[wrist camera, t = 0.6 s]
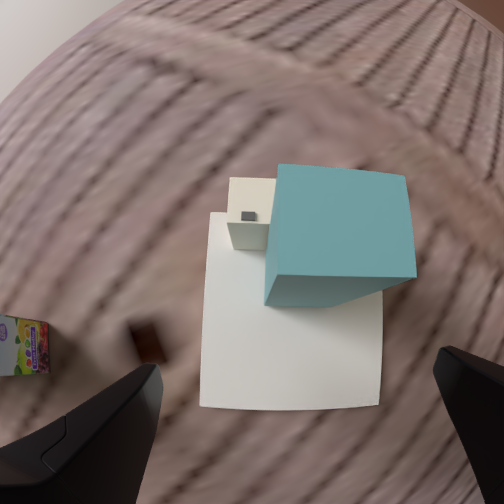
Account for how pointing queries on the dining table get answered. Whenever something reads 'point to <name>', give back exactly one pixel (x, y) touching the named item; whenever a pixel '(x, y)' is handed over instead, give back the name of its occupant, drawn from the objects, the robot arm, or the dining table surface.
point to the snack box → (23, 346)
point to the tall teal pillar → (336, 236)
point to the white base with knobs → (278, 325)
